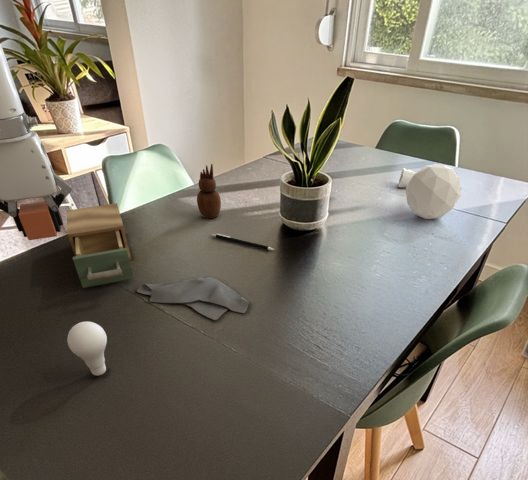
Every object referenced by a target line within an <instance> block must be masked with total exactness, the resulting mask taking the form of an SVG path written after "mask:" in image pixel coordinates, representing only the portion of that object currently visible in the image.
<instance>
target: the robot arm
mask: <svg viewBox="0 0 528 480" xmlns="http://www.w3.org/2000/svg"><path fill="white" fill-rule="evenodd" d="M38 126H39V123H38V120H37V117H36V116H30V115H29V116H28V114H26V111H25V110H24V107H23V104H22V101H21V98H20V95H19V93H18V90H17V86H16V84H15V81H14V78H13V75H12V72H11V70H10V66H9V63H8V60H7V57H6V55H5V52H4V49H3V46H2V44H1V43H0V211H2V212H4V213H6V214H8V216H9V217H10V218H12V219H13V221H14V223H15V226H16V228H17V231H18V232H22V236H23V237H24V238H27V235H26V233H25V230H24V228H23V225H22V223H21V221H20V218H19V216H18V214H19V209H20V208H19V206H18V201H20V200H21V201H22V200H30V199H36V198H38V199H39V198H43V199H44V201H46V202H47V204H48V205H49V207H50V215H51V218H52V221H53V224H54V226H55V229H56V232H57V233H61V231H62V230H61V229H62V228H61V227H62V226H64V221H63V218H62V215H61V213H60V210H59V208H60V206H61V205H62V203H64V201H65V199H66V198H67V197H68V196H69V194H70V193H71V192H72V190H73V189H72V184H70V183H69V182H67V181H66V180H64V178H62V177H61V176H59V175H58V174H57V173H55V170H54V169H53V166H52V164H51V161H50V158H49V156H48V154H47V151H46V148H45V146H44V144H43V141H42V140H41V138H40V136H39V134H38V132H37V131H34V130H32V128H34V127H38ZM57 186H58V187H59V188H60V190H59V191H58V192H57ZM56 192H57V193H56Z"/></svg>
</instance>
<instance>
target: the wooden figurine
mask: <svg viewBox="0 0 528 480" xmlns="http://www.w3.org/2000/svg"><path fill="white" fill-rule="evenodd" d="M198 188H199V191H198V193H197V196H196V204H197V208H198V211H199V213H200V215H201V216H202V217H203V218H205V219H215V218H217V217H218V216H220V215H219V214H220V213H221V208H222V207H221V206H222V200H221V195H220V193H219V192H218V191H217V190H216V188H217V183H216V180H215V178H214V166H213V163H211V165H210V169H209V167H208V165H207V164H206V165H205V169H204V168H203V169H202V171H200V173H199V180H198Z"/></svg>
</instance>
